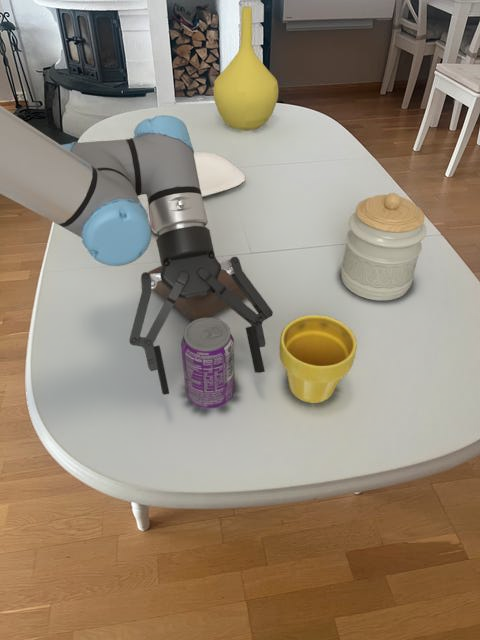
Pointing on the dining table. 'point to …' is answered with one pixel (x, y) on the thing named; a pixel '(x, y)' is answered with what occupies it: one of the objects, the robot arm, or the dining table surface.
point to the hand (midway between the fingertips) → (213, 382)
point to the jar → (383, 247)
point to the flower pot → (316, 355)
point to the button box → (201, 298)
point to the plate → (216, 174)
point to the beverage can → (208, 362)
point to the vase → (245, 85)
